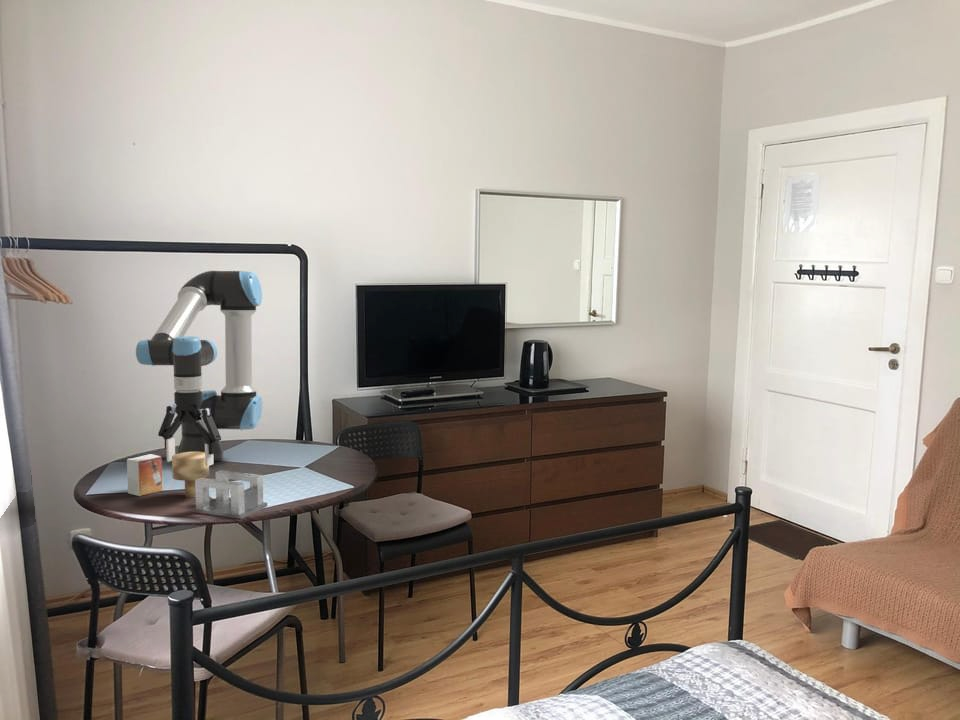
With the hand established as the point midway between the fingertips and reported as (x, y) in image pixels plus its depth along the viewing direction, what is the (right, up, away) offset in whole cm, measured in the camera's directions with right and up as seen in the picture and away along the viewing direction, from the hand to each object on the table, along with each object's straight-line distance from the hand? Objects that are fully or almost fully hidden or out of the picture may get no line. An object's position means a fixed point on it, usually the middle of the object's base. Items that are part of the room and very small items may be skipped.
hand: (190, 462), depth 228 cm
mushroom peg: (0, -10, +2) cm, 10 cm away
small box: (-15, -9, +5) cm, 18 cm away
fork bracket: (+15, -12, -10) cm, 21 cm away
